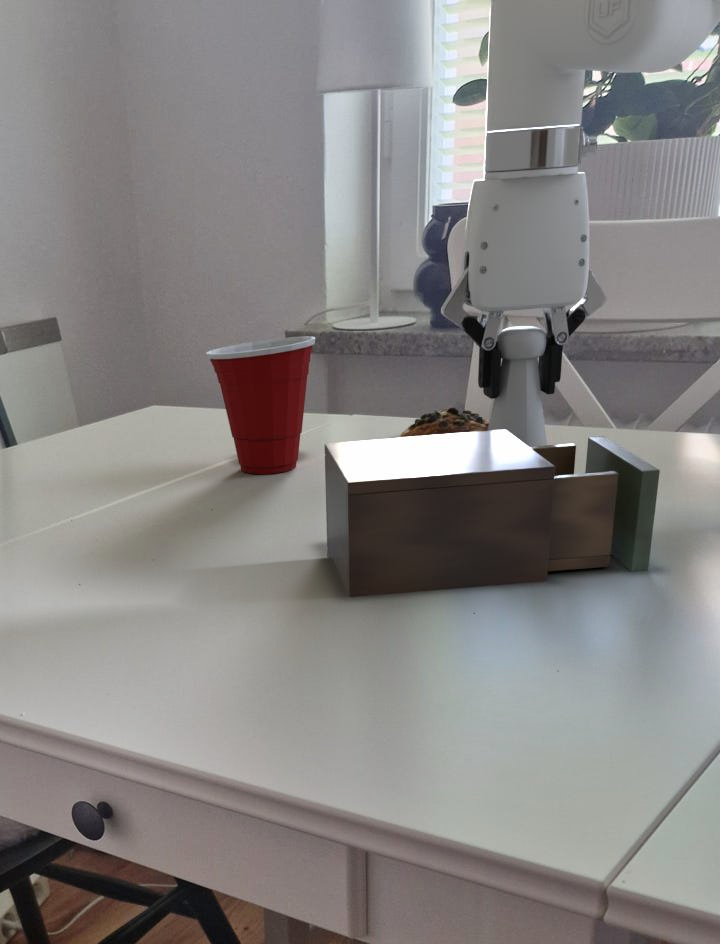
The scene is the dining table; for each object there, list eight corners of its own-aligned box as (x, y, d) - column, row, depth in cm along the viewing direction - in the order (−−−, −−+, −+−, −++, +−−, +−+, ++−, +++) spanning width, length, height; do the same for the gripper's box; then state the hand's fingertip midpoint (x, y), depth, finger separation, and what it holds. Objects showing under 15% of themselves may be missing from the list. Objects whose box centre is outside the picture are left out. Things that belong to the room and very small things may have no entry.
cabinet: (500, 544, 91) (506, 429, 86) (546, 594, 80) (555, 466, 75) (327, 558, 90) (324, 443, 86) (349, 610, 80) (347, 482, 75)
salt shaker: (559, 479, 107) (571, 325, 100) (514, 491, 104) (523, 333, 98) (512, 469, 111) (521, 321, 104) (468, 480, 108) (474, 329, 102)
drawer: (610, 526, 90) (619, 434, 86) (665, 569, 80) (678, 468, 76) (434, 540, 90) (436, 448, 86) (468, 585, 80) (472, 484, 76)
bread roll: (469, 464, 113) (466, 410, 111) (376, 470, 120) (371, 418, 118) (526, 446, 120) (524, 395, 118) (435, 452, 127) (431, 404, 125)
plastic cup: (253, 452, 125) (246, 331, 119) (339, 460, 119) (337, 333, 113) (192, 475, 118) (182, 347, 112) (281, 484, 112) (275, 350, 106)
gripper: (618, 149, 98) (597, 380, 107) (420, 164, 98) (416, 394, 107) (650, 148, 91) (625, 393, 101) (438, 163, 91) (433, 408, 100)
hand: (518, 391), depth 104 cm, fingers closed on salt shaker, 4 cm apart
